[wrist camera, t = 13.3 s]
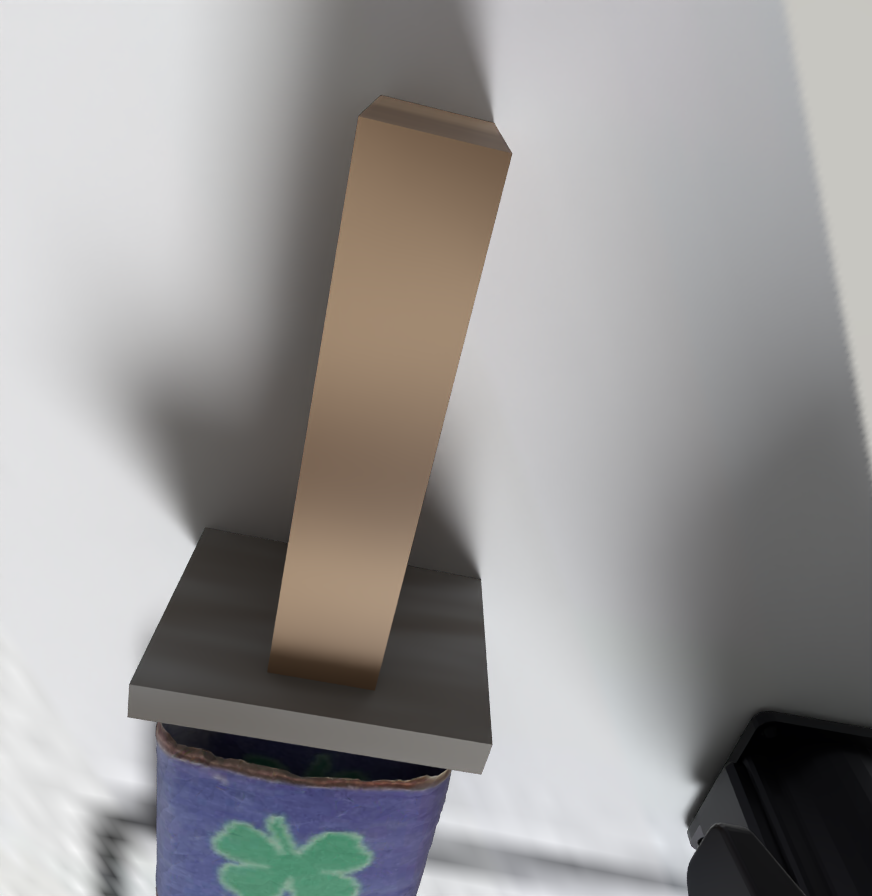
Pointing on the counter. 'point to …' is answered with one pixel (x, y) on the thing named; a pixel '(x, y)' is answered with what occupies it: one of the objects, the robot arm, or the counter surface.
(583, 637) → the counter surface
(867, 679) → the counter surface
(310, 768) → the blue painted container
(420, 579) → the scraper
